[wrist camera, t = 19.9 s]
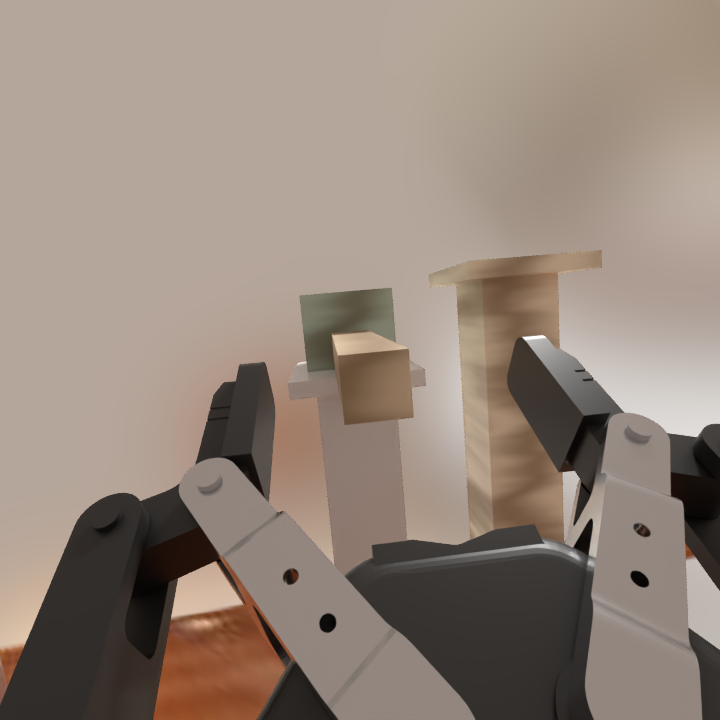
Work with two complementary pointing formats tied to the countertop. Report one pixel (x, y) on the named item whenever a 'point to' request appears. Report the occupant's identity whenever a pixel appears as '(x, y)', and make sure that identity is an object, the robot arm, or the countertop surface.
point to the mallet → (359, 352)
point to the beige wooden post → (490, 390)
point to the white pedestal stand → (357, 470)
